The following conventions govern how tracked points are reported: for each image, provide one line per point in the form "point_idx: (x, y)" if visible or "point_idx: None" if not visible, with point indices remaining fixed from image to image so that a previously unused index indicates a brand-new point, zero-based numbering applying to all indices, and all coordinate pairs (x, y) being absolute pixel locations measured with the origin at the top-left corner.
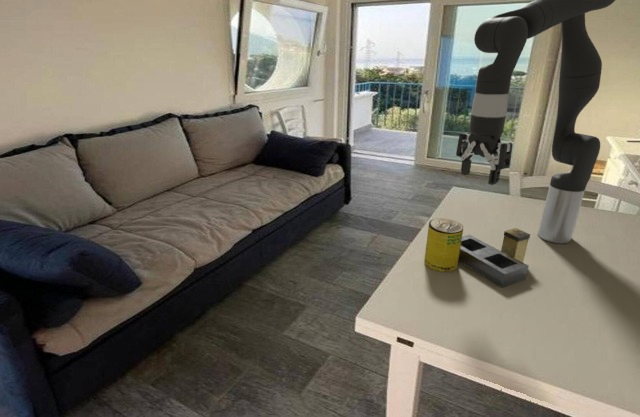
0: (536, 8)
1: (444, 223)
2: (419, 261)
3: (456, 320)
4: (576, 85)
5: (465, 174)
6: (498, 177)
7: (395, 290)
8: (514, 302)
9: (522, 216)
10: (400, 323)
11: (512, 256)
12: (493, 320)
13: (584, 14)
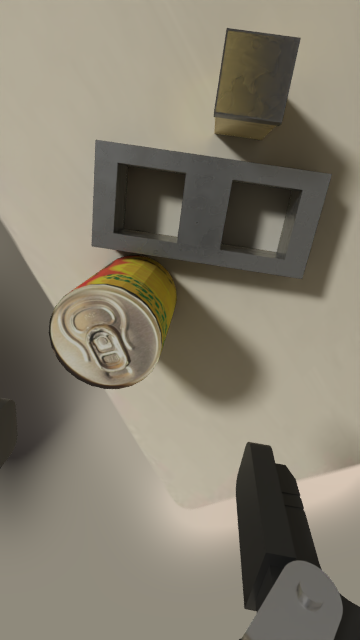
0: None
1: (92, 333)
2: None
3: (284, 426)
4: None
5: (15, 431)
6: (298, 510)
7: (159, 438)
8: (338, 299)
9: None
10: (229, 488)
11: (259, 134)
12: (332, 381)
13: None
